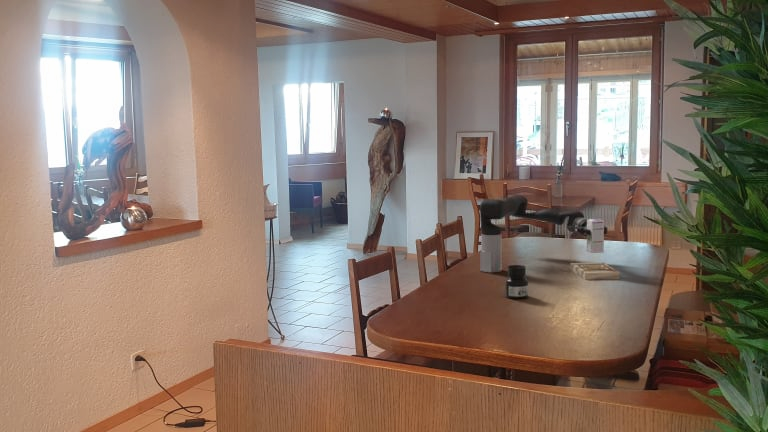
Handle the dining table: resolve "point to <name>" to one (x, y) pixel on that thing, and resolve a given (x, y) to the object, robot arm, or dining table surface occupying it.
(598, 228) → the syrup box
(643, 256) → the dining table surface
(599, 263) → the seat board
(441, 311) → the dining table surface
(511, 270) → the ink bottle
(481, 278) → the dining table surface
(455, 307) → the dining table surface
